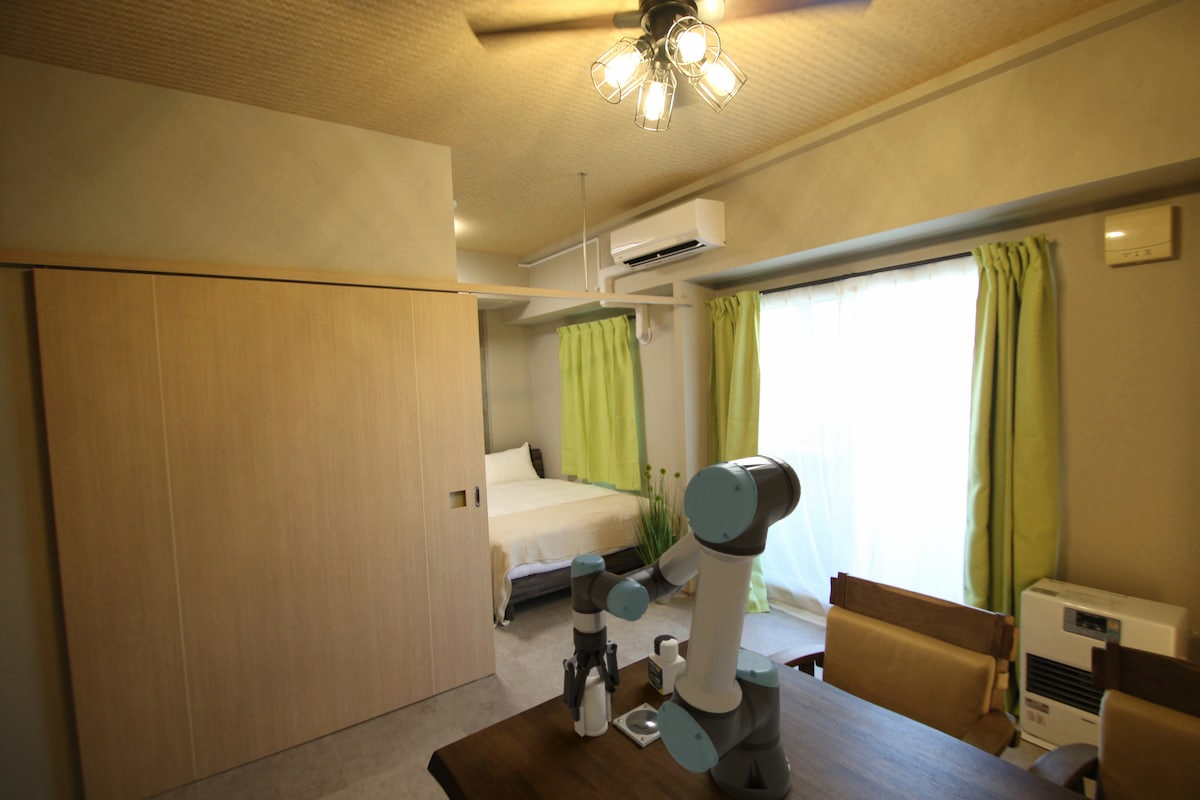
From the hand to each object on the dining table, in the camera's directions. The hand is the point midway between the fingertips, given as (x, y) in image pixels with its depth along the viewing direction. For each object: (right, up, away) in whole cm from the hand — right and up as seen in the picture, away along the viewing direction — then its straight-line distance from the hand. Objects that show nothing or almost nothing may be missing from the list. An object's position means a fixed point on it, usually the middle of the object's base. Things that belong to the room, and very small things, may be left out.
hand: (593, 725), depth 119 cm
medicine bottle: (+19, +1, +15) cm, 24 cm away
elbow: (-1, 0, +1) cm, 1 cm away
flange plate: (+12, 0, 0) cm, 12 cm away
